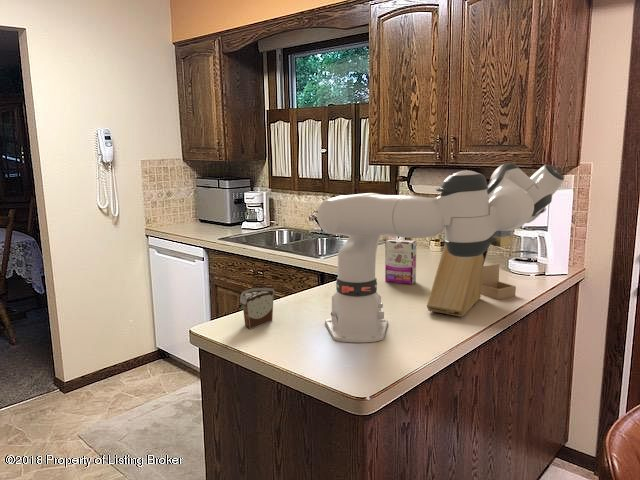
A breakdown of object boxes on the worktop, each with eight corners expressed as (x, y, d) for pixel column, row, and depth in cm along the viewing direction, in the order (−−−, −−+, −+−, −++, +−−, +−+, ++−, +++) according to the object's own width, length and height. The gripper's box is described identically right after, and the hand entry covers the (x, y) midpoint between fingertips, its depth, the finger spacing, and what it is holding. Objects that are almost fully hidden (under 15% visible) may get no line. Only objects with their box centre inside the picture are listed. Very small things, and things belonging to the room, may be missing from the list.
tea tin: (509, 245, 183) (511, 217, 181) (500, 247, 181) (501, 218, 179) (499, 243, 187) (501, 215, 185) (490, 244, 185) (491, 216, 183)
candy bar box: (416, 282, 205) (417, 240, 202) (412, 285, 201) (413, 242, 198) (389, 278, 210) (389, 238, 207) (384, 281, 206) (385, 240, 203)
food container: (261, 315, 167) (260, 285, 166) (275, 319, 164) (274, 288, 162) (232, 326, 158) (230, 294, 156) (246, 330, 154) (245, 297, 152)
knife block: (488, 292, 190) (492, 206, 185) (461, 320, 161) (465, 220, 155) (457, 288, 196) (460, 205, 190) (425, 315, 166) (428, 217, 161)
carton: (515, 295, 185) (516, 268, 183) (497, 299, 181) (499, 271, 180) (496, 290, 193) (498, 263, 191) (479, 293, 189) (481, 266, 187)
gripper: (506, 214, 167) (481, 240, 177) (549, 209, 176) (524, 234, 186) (495, 198, 170) (472, 225, 180) (539, 195, 179) (515, 220, 189)
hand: (499, 229), depth 183 cm, fingers closed on tea tin, 5 cm apart
